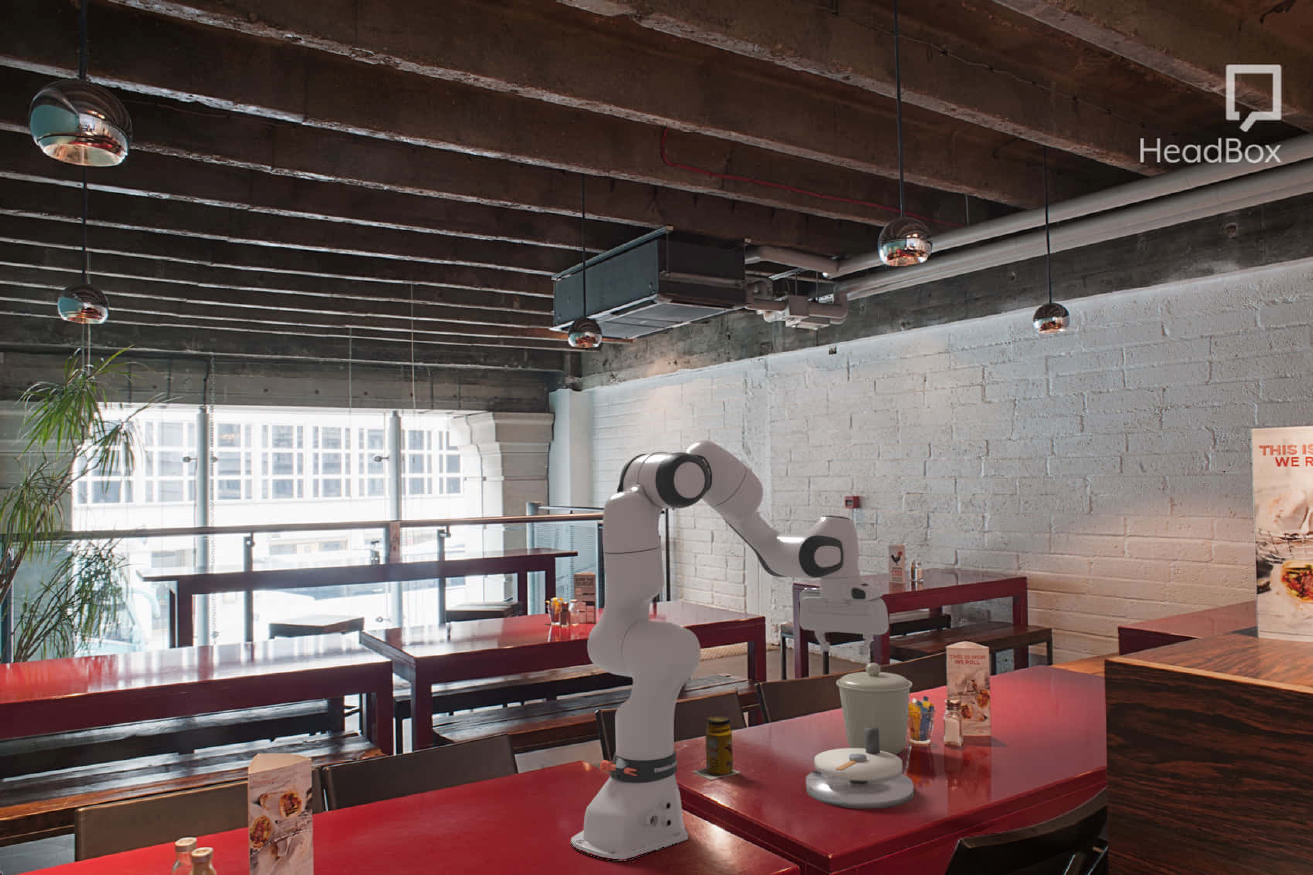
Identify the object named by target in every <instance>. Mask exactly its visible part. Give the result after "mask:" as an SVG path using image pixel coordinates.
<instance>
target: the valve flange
mask: <svg viewBox="0 0 1313 875" xmlns="http://www.w3.org/2000/svg"><path fill="white" fill-rule="evenodd" d="M805 789H806V793H807V794H808V796H809V797H811V798H813V799H814V800H816V801H818V802H821V803H824V804H828V805H830V806H836V807H840V808H847V809H848V808H849V809H857V810H858V809H860V810H864V809H865V810H869V809H870V810H871V809H872V810H874V809H885V808H893V807H897V806H900V805H903V804H906V803H907V802H909V801H911V800H912V798H914V795H915V794H914V792H915V791H914V782H913V780H912V779H911V778H910V777H908V776H907V775H905V774H904V773H902V772H901V773H900V774H899V775H897V776H895V777H892V778H888V779H882V780H872V781H858V780H846V779H839V778H835V777H831V776H827V775H825V774H822V773H820V772H819V771H817V770H816V769H814V770H812V772H809V774H807V775H806V777H805Z"/></svg>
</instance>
